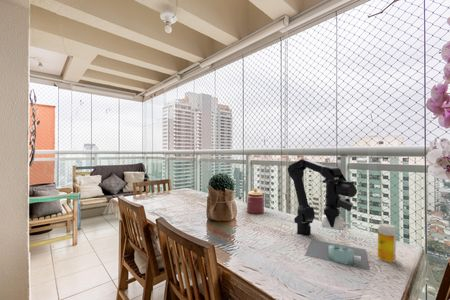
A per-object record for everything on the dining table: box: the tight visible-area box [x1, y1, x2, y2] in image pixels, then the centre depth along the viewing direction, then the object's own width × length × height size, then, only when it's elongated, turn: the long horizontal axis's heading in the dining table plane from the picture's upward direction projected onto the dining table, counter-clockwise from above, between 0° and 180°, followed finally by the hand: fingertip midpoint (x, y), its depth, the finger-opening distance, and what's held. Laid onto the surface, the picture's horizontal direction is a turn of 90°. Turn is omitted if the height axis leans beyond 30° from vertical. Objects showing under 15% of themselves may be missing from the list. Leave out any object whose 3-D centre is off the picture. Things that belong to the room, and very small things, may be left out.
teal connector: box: [329, 245, 361, 266], centre depth 92 cm, size 12×4×5 cm, turn 61°
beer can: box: [377, 222, 397, 263], centre depth 94 cm, size 6×6×15 cm
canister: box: [246, 188, 265, 215], centre depth 165 cm, size 13×13×18 cm
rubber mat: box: [304, 239, 371, 271], centre depth 99 cm, size 24×20×1 cm
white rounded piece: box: [321, 214, 350, 231], centre depth 105 cm, size 12×4×5 cm, turn 61°
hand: (332, 225), depth 106 cm, fingers closed on white rounded piece, 4 cm apart
